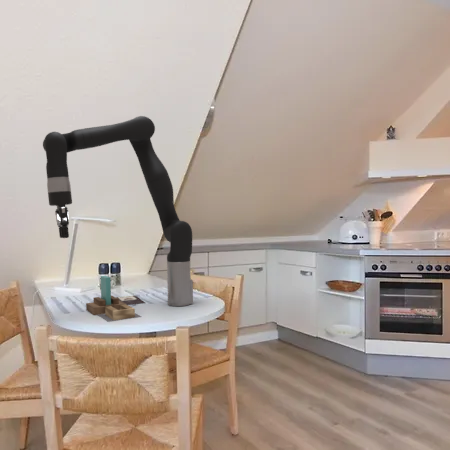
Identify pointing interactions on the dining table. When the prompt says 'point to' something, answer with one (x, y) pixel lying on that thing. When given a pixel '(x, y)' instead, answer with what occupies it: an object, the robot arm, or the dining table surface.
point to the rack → (120, 312)
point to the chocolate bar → (131, 300)
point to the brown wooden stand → (102, 305)
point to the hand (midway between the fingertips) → (64, 237)
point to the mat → (115, 320)
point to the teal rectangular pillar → (106, 289)
